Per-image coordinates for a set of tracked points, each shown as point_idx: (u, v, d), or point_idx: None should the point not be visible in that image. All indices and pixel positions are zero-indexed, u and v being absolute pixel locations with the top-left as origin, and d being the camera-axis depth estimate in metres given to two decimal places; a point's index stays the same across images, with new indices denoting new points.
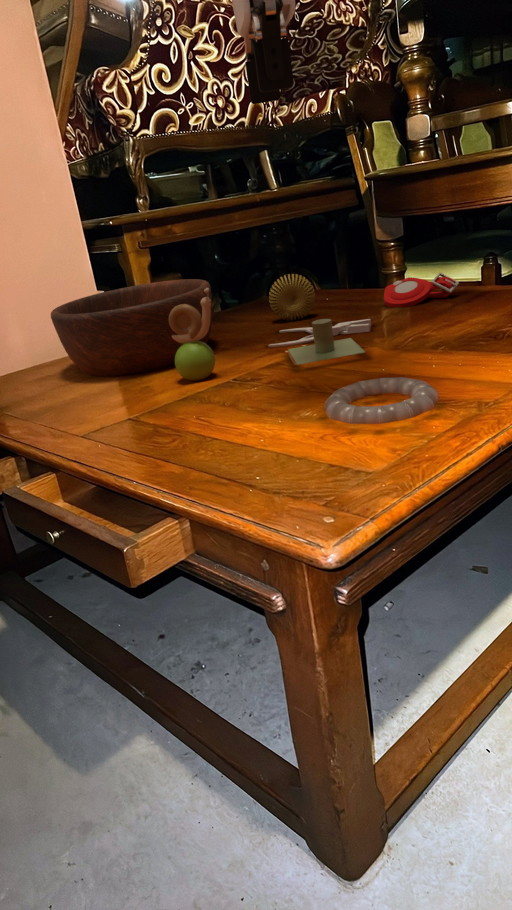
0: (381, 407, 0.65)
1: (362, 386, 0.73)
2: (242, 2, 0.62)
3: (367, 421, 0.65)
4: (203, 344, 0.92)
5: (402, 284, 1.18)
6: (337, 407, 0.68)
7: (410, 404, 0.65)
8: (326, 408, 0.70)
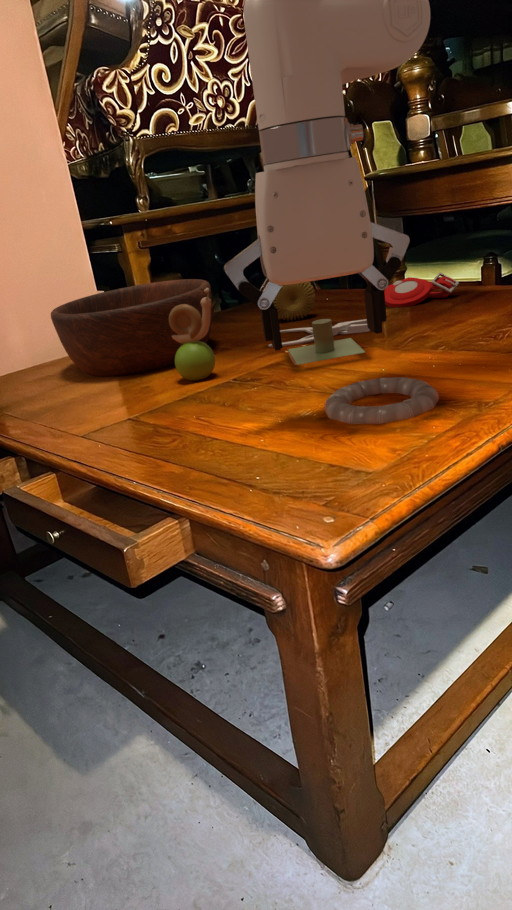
0: (381, 407, 0.65)
1: (362, 386, 0.73)
2: (368, 255, 0.62)
3: (367, 421, 0.65)
4: (203, 344, 0.92)
5: (402, 284, 1.18)
6: (337, 407, 0.68)
7: (410, 404, 0.65)
8: (326, 408, 0.70)
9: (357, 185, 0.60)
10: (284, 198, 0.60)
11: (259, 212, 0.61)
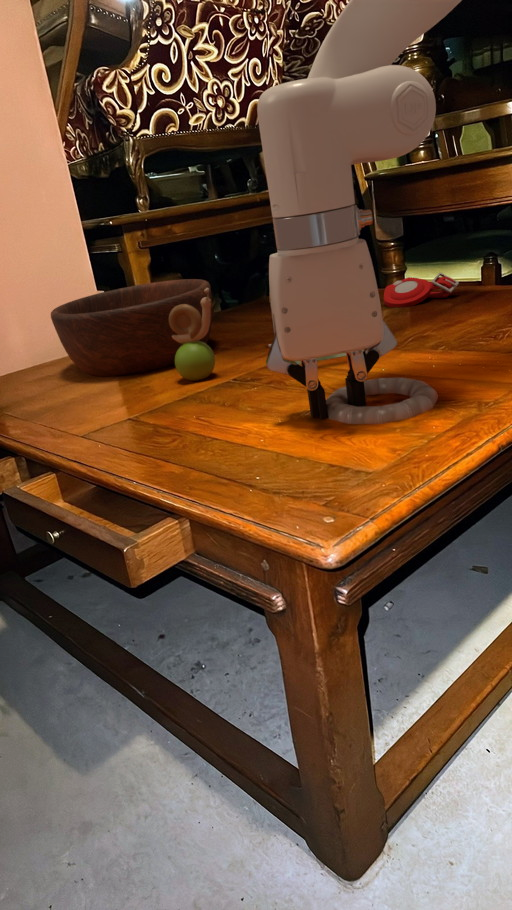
0: (380, 407, 0.65)
1: None
2: (378, 332, 0.65)
3: (366, 421, 0.65)
4: (203, 344, 0.92)
5: (402, 284, 1.18)
6: (336, 407, 0.68)
7: (409, 404, 0.65)
8: None
9: (367, 269, 0.63)
10: (297, 282, 0.63)
11: (273, 294, 0.64)
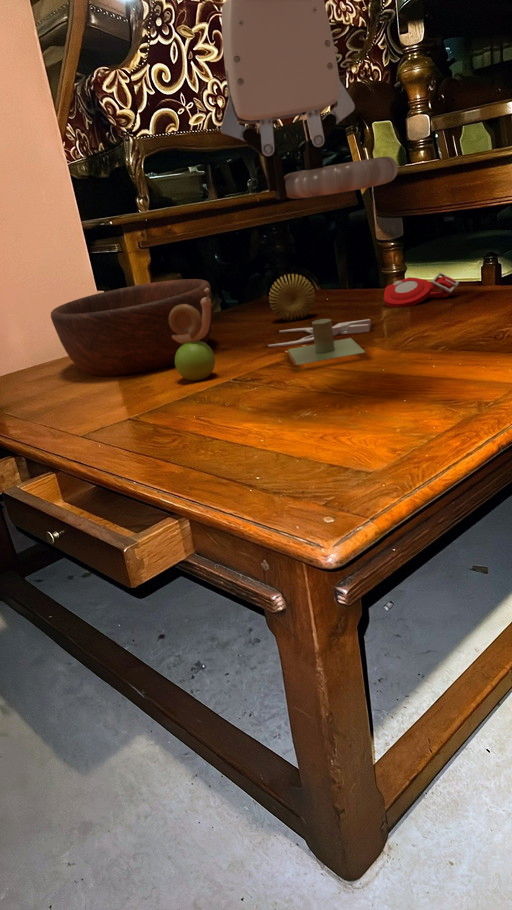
0: (337, 165, 0.64)
1: None
2: (334, 87, 0.64)
3: (322, 179, 0.64)
4: (203, 344, 0.92)
5: (402, 284, 1.18)
6: (293, 174, 0.66)
7: (366, 162, 0.63)
8: None
9: (321, 13, 0.61)
10: (249, 26, 0.61)
11: (226, 44, 0.62)
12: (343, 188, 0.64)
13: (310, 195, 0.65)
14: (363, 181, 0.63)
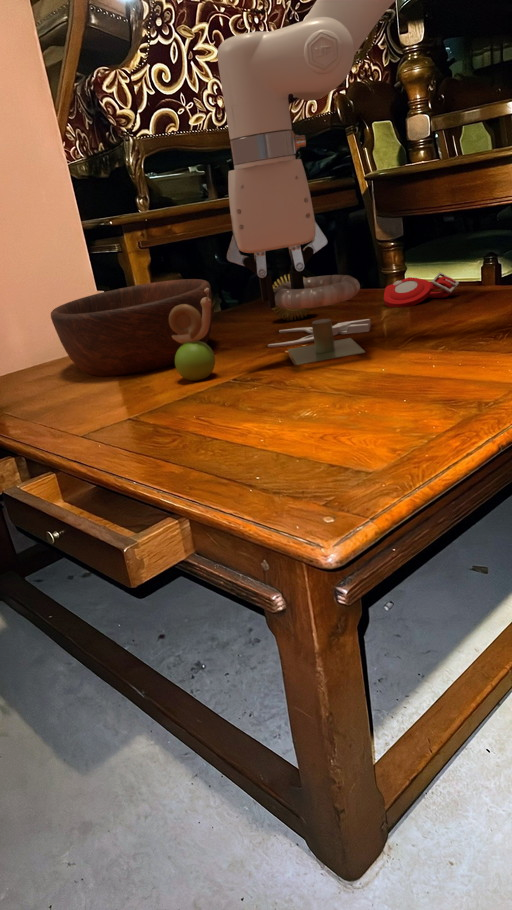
0: (312, 288, 0.85)
1: (303, 281, 0.93)
2: (311, 230, 0.85)
3: (302, 299, 0.85)
4: (203, 344, 0.92)
5: (402, 284, 1.18)
6: (280, 291, 0.88)
7: (335, 286, 0.85)
8: None
9: (301, 179, 0.83)
10: (248, 189, 0.83)
11: (231, 199, 0.84)
12: (317, 305, 0.86)
13: (292, 308, 0.87)
14: (332, 300, 0.85)
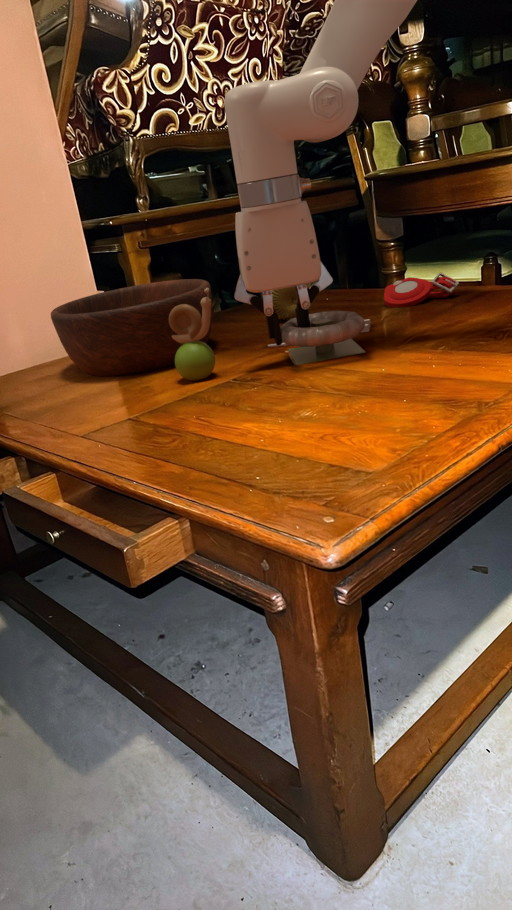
0: (319, 327, 0.87)
1: (309, 317, 0.95)
2: (317, 270, 0.87)
3: (308, 337, 0.87)
4: (203, 344, 0.92)
5: (402, 284, 1.18)
6: (287, 329, 0.90)
7: (340, 325, 0.87)
8: None
9: (307, 222, 0.85)
10: (255, 232, 0.85)
11: (238, 241, 0.86)
12: (323, 343, 0.88)
13: (299, 346, 0.89)
14: (338, 339, 0.87)
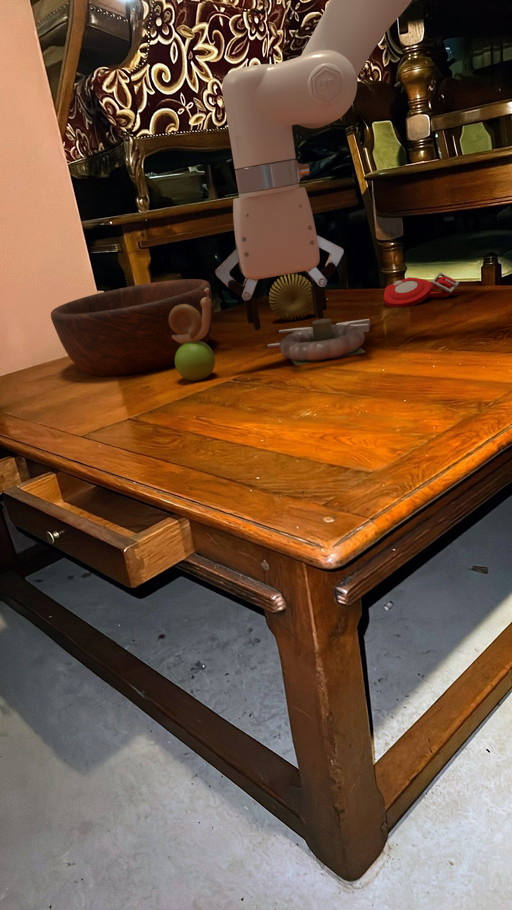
0: (319, 342, 0.88)
1: (309, 331, 0.96)
2: (315, 257, 0.87)
3: (309, 352, 0.88)
4: (203, 344, 0.92)
5: (402, 284, 1.18)
6: (288, 344, 0.90)
7: (341, 340, 0.88)
8: (280, 346, 0.92)
9: (305, 207, 0.84)
10: (253, 218, 0.84)
11: (236, 227, 0.85)
12: (324, 358, 0.88)
13: (300, 360, 0.90)
14: (338, 353, 0.88)
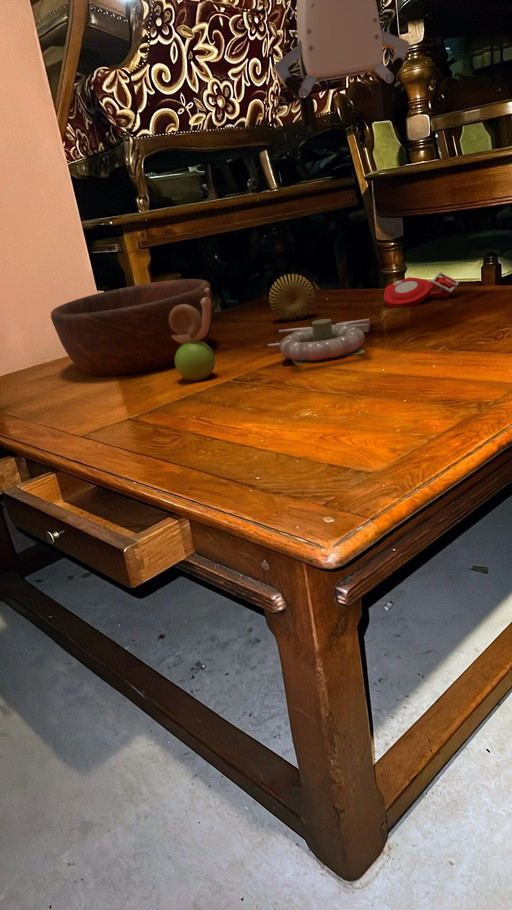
0: (319, 342, 0.88)
1: (309, 331, 0.96)
2: (379, 53, 0.86)
3: (309, 352, 0.88)
4: (203, 344, 0.92)
5: (402, 284, 1.18)
6: (288, 344, 0.90)
7: (341, 340, 0.88)
8: (280, 346, 0.92)
9: None
10: (319, 7, 0.84)
11: (300, 20, 0.85)
12: (324, 358, 0.88)
13: (300, 360, 0.90)
14: (338, 353, 0.88)
